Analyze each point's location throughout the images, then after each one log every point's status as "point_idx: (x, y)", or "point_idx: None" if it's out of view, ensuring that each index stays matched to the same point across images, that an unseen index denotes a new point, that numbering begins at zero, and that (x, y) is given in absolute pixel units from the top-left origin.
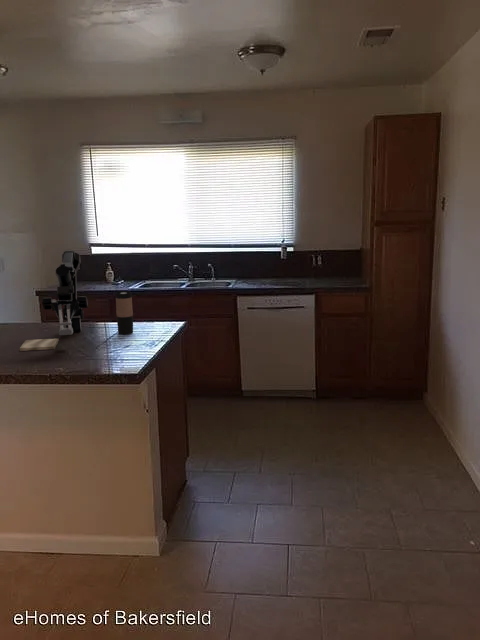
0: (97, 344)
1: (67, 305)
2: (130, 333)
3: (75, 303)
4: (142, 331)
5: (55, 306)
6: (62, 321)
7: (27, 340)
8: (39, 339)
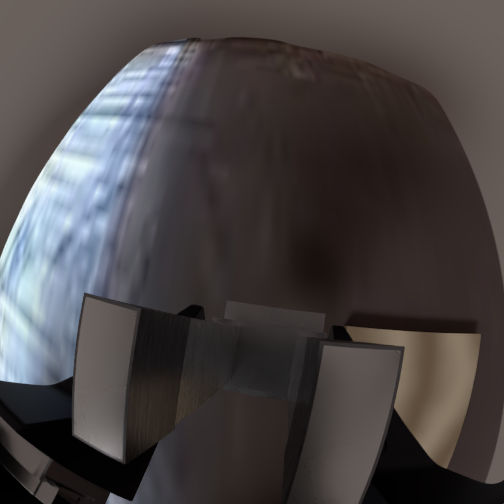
0: None
1: (129, 305)
2: None
3: (5, 382)
4: None
5: (418, 475)
6: (293, 365)
7: (443, 464)
8: None
